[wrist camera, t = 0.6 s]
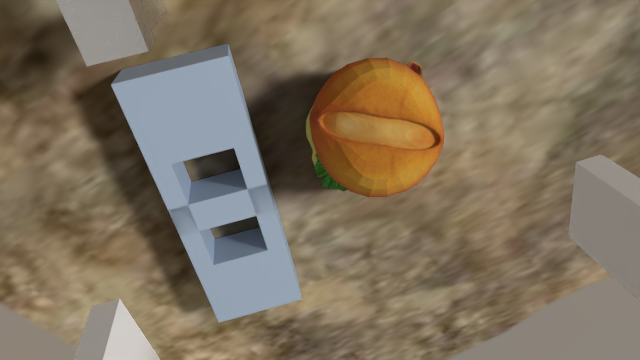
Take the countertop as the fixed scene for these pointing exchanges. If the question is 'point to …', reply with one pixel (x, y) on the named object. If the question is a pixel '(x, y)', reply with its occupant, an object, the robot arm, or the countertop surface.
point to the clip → (111, 26)
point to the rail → (213, 192)
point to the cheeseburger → (375, 128)
